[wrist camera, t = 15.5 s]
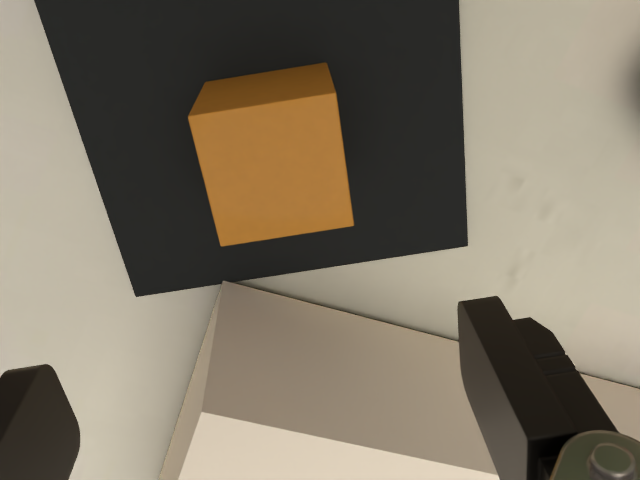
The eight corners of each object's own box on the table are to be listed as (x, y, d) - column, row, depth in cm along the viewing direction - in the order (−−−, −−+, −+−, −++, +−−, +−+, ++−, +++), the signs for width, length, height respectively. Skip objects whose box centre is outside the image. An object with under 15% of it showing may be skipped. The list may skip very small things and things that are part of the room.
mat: (137, 292, 29) (135, 297, 29) (32, -17, 23) (28, -16, 23) (465, 242, 29) (468, 246, 29) (453, -87, 23) (455, -87, 22)
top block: (230, 194, 27) (220, 247, 22) (204, 81, 25) (186, 116, 20) (342, 176, 27) (354, 226, 22) (326, 61, 24) (336, 92, 20)
